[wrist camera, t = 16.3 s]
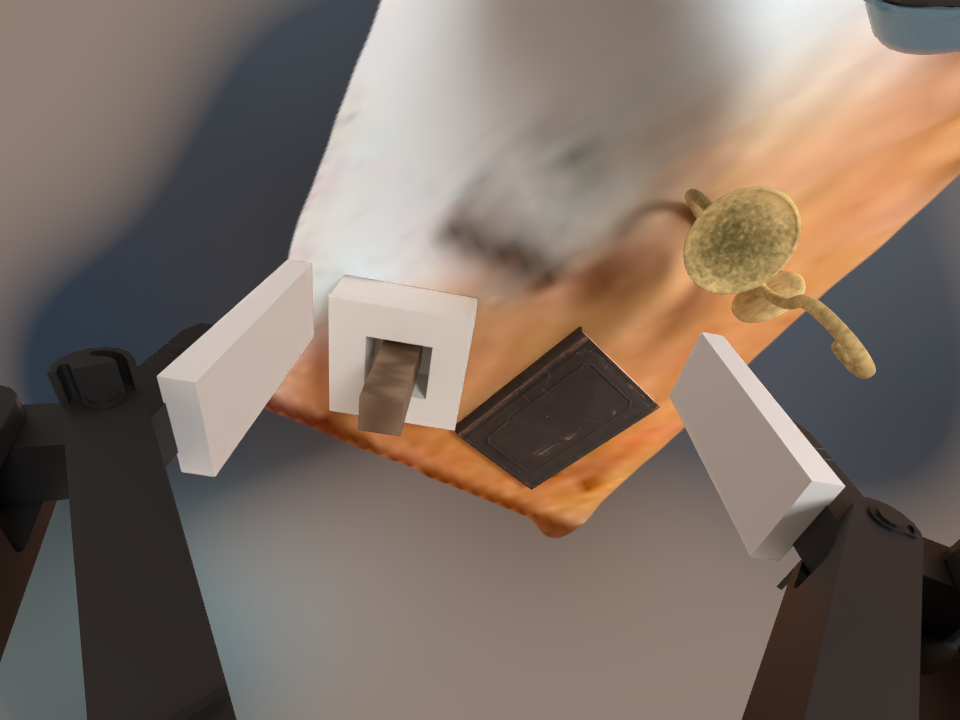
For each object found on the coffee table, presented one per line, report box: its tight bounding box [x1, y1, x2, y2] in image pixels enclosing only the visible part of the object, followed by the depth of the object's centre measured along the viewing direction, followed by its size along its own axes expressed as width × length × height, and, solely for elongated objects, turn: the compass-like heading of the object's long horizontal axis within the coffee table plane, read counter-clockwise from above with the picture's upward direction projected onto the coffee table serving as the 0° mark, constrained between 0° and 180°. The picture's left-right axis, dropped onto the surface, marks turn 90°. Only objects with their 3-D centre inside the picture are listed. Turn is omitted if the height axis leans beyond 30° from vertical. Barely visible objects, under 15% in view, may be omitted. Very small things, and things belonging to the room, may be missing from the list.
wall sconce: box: [684, 187, 876, 379], centre depth 39 cm, size 14×10×25 cm
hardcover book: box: [455, 327, 660, 490], centre depth 64 cm, size 16×23×2 cm
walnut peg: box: [358, 339, 423, 436], centre depth 52 cm, size 4×4×14 cm
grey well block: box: [328, 275, 478, 430], centre depth 56 cm, size 16×16×6 cm
